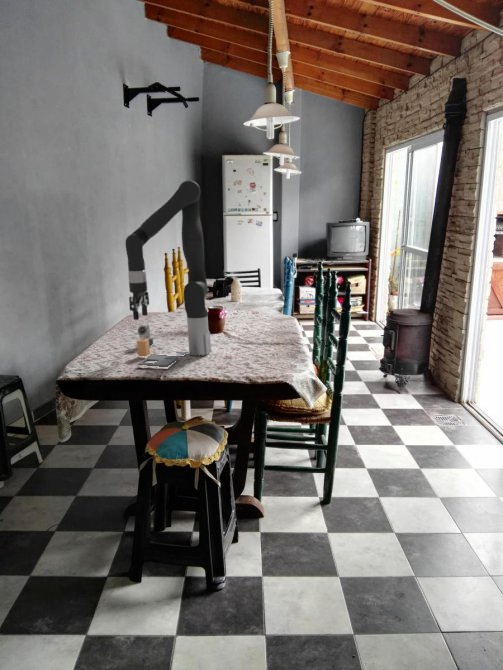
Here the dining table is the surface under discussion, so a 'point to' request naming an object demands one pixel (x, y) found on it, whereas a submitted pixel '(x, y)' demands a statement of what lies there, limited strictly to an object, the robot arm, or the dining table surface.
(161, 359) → the outlet plate
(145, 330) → the watch
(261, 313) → the dining table surface
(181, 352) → the phone
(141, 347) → the block
